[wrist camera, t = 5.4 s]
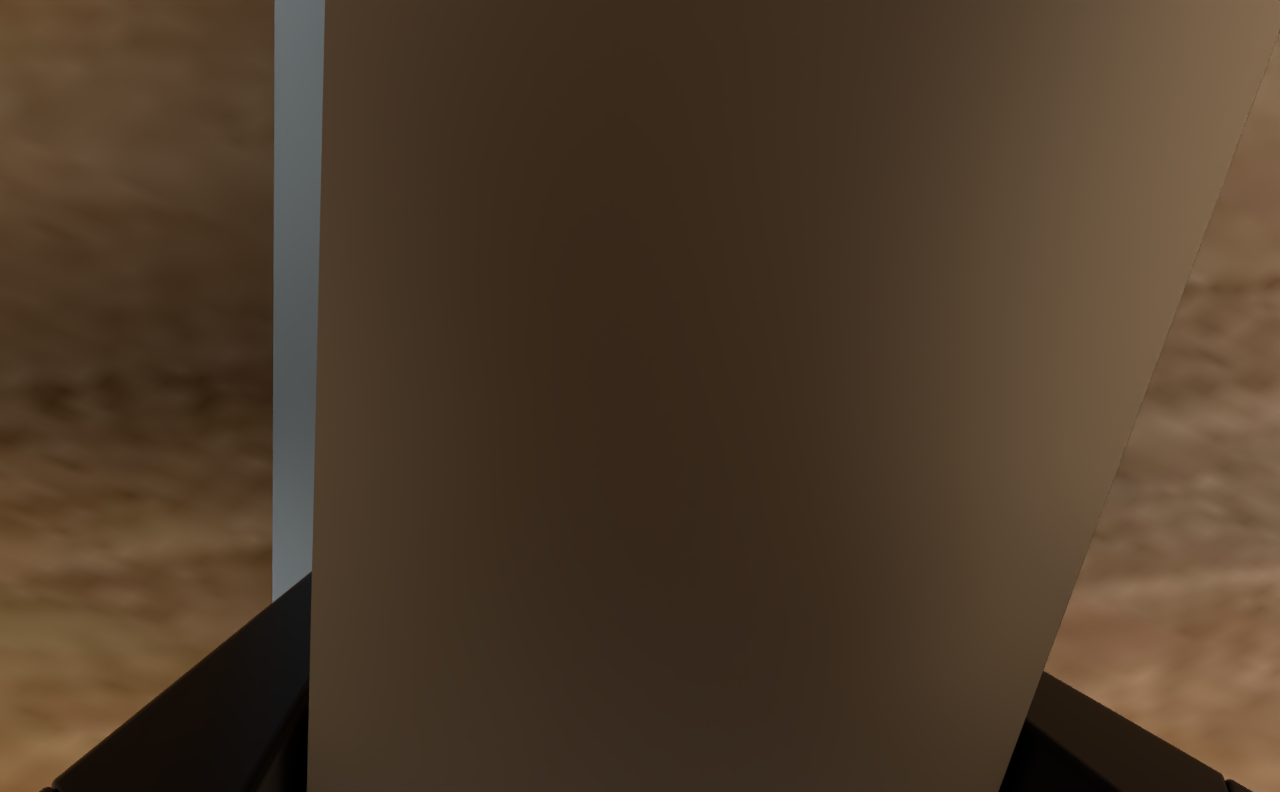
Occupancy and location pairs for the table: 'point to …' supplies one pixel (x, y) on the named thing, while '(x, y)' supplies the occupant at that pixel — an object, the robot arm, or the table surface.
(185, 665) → the table surface
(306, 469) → the peg rack
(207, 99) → the table surface
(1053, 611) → the shelf block
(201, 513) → the table surface
